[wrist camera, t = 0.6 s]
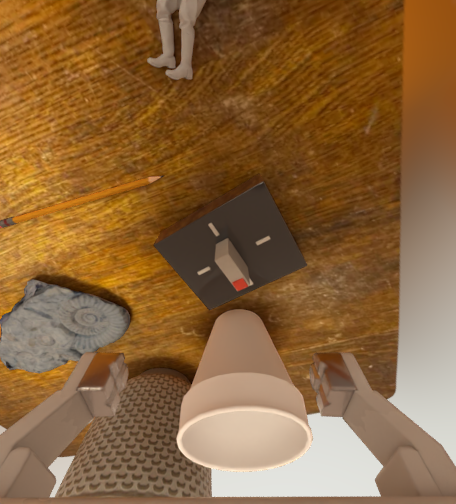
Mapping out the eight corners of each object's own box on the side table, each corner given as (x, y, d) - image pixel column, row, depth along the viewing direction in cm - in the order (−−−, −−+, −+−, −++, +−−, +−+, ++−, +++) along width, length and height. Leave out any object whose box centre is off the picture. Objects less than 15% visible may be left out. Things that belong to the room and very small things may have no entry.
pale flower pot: (177, 309, 32) (148, 427, 20) (267, 280, 30) (293, 394, 18) (216, 364, 38) (211, 480, 26) (293, 343, 35) (326, 460, 23)
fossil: (144, 307, 32) (134, 331, 28) (86, 372, 39) (73, 398, 35) (44, 253, 28) (19, 273, 24) (-1, 337, 34) (-26, 362, 31)
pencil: (2, 226, 26) (-4, 230, 25) (-3, 220, 26) (-9, 224, 25) (166, 178, 24) (165, 180, 23) (164, 171, 23) (162, 173, 23)
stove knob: (215, 244, 24) (214, 262, 21) (228, 237, 23) (228, 254, 20) (236, 273, 25) (237, 293, 22) (248, 267, 25) (250, 287, 22)
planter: (231, 399, 43) (233, 538, 29) (146, 418, 46) (111, 551, 32) (187, 336, 34) (161, 488, 21) (87, 365, 38) (6, 513, 24)
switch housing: (259, 172, 23) (263, 181, 20) (300, 251, 27) (308, 266, 25) (160, 231, 26) (152, 246, 23) (210, 293, 31) (209, 311, 28)
